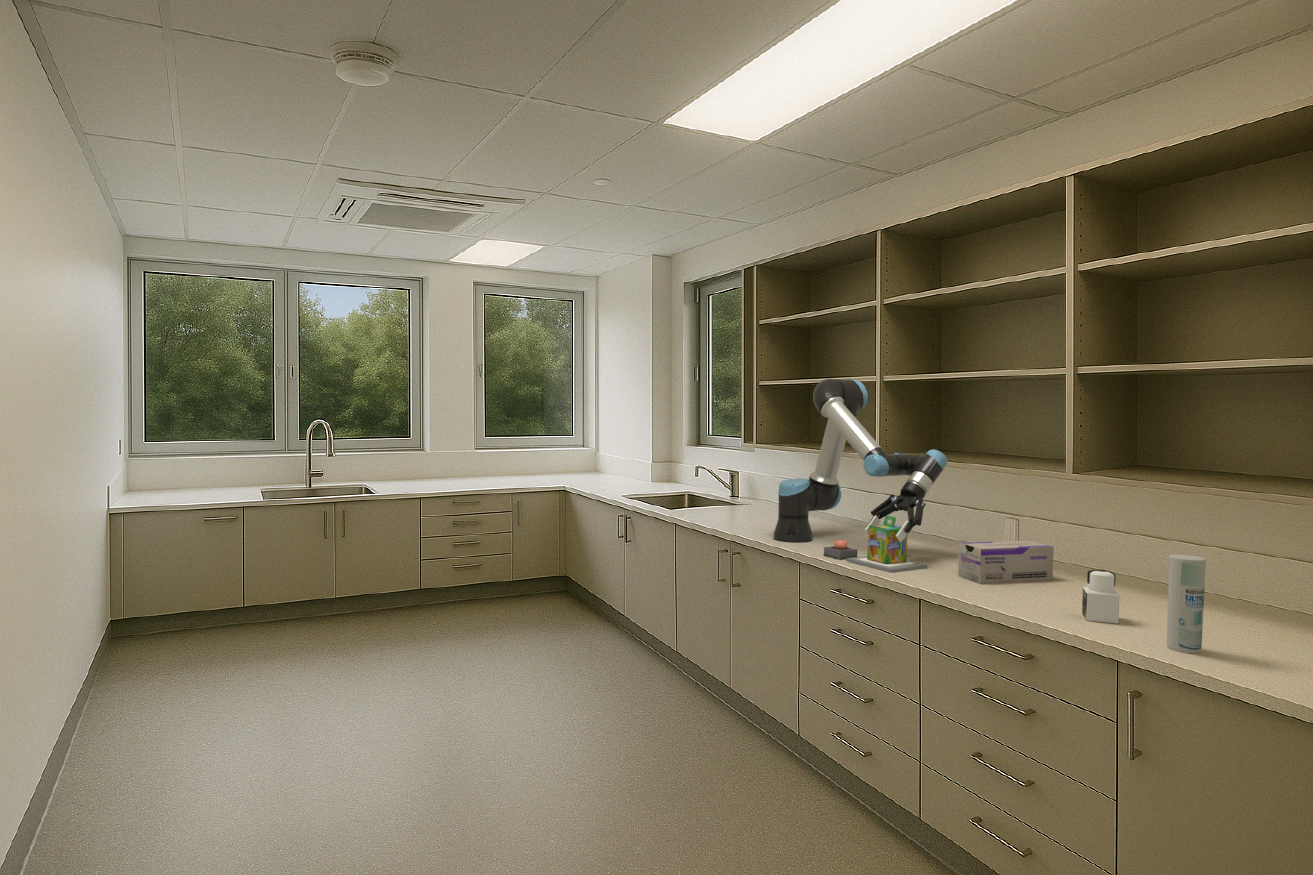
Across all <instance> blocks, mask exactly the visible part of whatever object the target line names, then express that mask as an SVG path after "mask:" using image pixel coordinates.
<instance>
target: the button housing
mask: <svg viewBox="0 0 1313 875" xmlns="http://www.w3.org/2000/svg"><path fill="white" fill-rule="evenodd" d="M823 556H824V557H827V558H830V559H831V558H832V559H835V560H840V561H841V560H846V558H854V557H858V548H854V547H850V546H847V550H837V549H834V545H833V546H831V545H830V546H824V547H823Z"/></svg>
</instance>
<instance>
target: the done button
mask: <svg viewBox="0 0 1313 875" xmlns="http://www.w3.org/2000/svg"><path fill="white" fill-rule="evenodd" d="M833 543H834V545H833V546H834V549H837V550H847V547H848V541H847V540H845V539H836V540H834V541H833Z"/></svg>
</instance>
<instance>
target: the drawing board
mask: <svg viewBox="0 0 1313 875" xmlns="http://www.w3.org/2000/svg"><path fill="white" fill-rule="evenodd" d="M847 561H848V562H847ZM845 562H847V563H850V564H851V563H852V564H856V565H860V566H864V567H867V566H868V568H871V569H876V570H880V571H884V572H887V573H899V572H905V571H915V570H921V569H927V568H928V565H927V564H924V563H922V562H921V563H919V562H915V561H912V560H911V561H910V560H907V559H906V562H904V563H892V564H883V563H880V562H877V561H873V560H869V559H867V555H865V556H857V557H854V558H846V559H845Z"/></svg>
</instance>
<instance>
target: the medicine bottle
mask: <svg viewBox="0 0 1313 875" xmlns="http://www.w3.org/2000/svg"><path fill="white" fill-rule="evenodd" d="M1086 575H1087V581H1086V585H1085V586H1082V602H1081V604H1082V605H1081V606H1082V607H1081V614H1082V616H1083V618H1084V620H1085V621H1087V622H1095V623H1107V624H1115V625H1117V624H1119V620H1120V600H1121V599H1120V598H1121V597H1120V594H1119V593H1118V592H1117V590H1116V579H1117V576H1116V574H1115V573H1114V572H1113V571H1111V570H1106V569H1097V568H1095V569H1091V570H1089V571H1087V574H1086Z"/></svg>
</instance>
